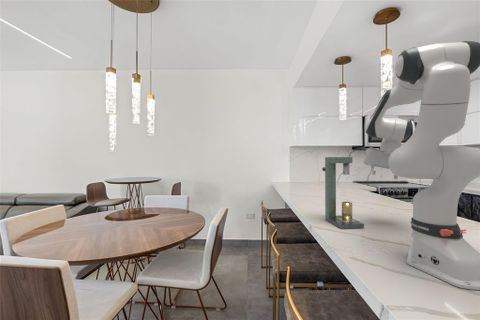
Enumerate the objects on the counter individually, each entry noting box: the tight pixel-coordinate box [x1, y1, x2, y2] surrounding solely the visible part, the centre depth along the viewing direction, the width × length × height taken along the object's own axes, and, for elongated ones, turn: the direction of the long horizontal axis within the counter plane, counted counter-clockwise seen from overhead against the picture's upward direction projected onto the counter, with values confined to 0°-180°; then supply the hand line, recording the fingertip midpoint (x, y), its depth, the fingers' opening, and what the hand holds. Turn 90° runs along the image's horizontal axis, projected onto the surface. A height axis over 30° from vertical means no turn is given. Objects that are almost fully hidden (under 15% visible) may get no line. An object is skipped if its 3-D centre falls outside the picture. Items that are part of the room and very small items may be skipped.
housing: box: [341, 201, 353, 221], centre depth 118 cm, size 5×5×9 cm
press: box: [321, 156, 365, 230], centre depth 121 cm, size 22×12×35 cm, turn 5°
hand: (384, 176), depth 112 cm, fingers open, 8 cm apart
